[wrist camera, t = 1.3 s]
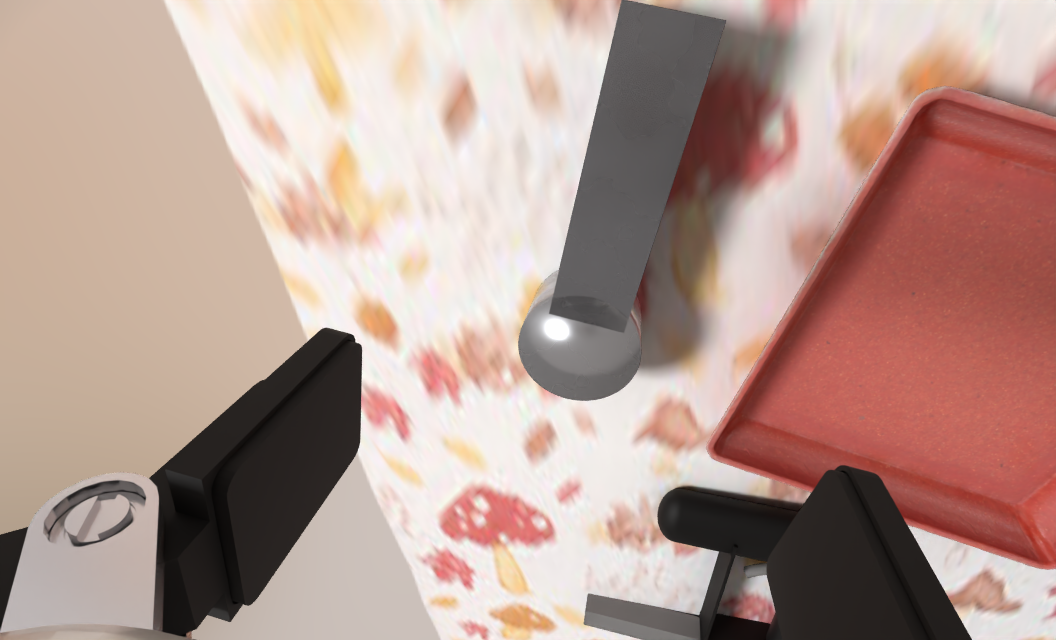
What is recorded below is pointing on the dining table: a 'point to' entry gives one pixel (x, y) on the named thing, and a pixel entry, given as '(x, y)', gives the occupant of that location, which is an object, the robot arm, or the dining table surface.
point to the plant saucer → (927, 335)
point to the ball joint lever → (619, 203)
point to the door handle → (731, 533)
